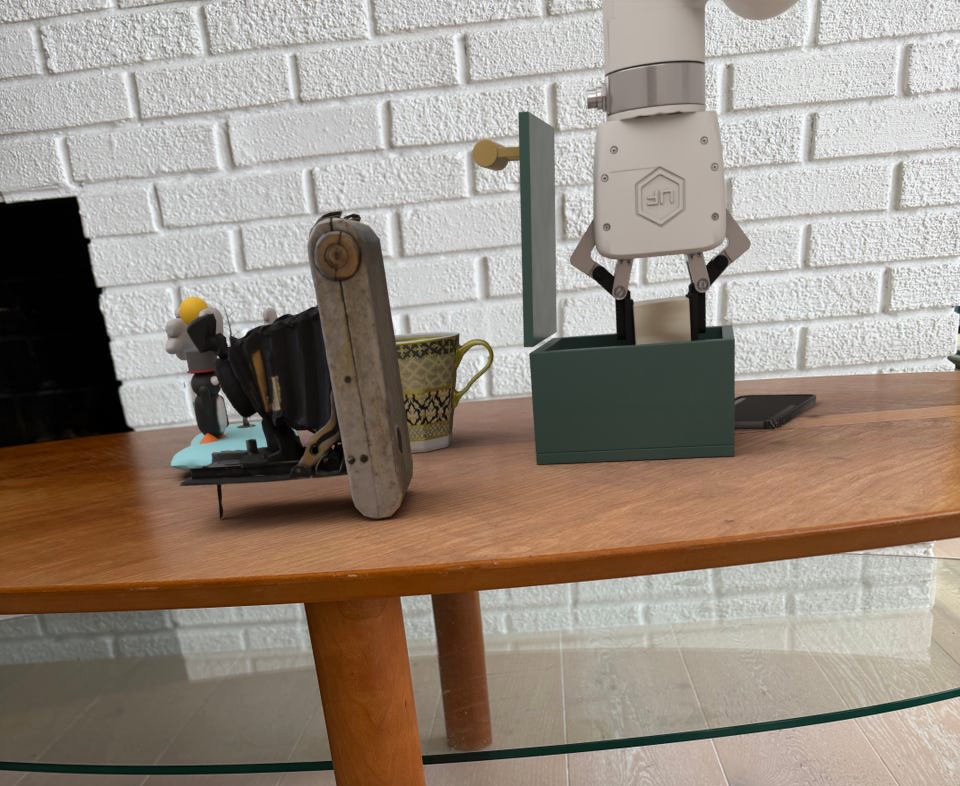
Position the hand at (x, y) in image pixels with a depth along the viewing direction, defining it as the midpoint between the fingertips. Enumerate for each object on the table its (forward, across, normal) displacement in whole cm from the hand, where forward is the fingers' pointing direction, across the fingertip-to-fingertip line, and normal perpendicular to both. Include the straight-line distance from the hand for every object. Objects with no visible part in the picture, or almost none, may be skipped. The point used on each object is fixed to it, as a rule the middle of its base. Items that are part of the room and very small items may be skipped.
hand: (660, 343), depth 83 cm
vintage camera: (+8, -27, -17) cm, 33 cm away
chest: (+8, -2, 0) cm, 9 cm away
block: (+1, 0, 0) cm, 1 cm away
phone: (+9, +10, +12) cm, 18 cm away
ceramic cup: (+8, -21, +7) cm, 24 cm away
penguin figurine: (+8, -40, +7) cm, 42 cm away
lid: (-9, -9, +1) cm, 13 cm away
